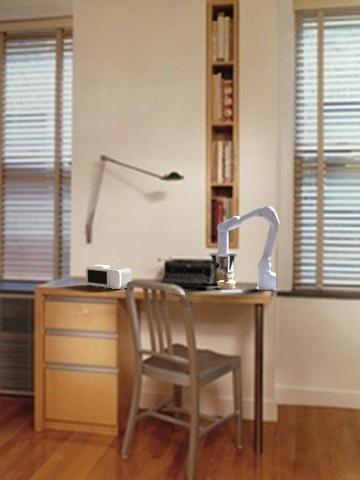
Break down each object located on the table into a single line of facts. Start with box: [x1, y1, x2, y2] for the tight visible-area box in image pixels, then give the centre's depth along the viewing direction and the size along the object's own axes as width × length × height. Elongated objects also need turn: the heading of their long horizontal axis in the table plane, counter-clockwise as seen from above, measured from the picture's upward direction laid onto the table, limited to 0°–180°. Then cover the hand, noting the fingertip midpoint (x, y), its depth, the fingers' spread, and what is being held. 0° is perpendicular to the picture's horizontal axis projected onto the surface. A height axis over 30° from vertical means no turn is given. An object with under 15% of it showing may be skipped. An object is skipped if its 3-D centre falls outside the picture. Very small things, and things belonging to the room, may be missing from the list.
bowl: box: [217, 284, 236, 290], centre depth 288 cm, size 9×9×3 cm
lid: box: [217, 274, 237, 285], centre depth 288 cm, size 10×10×5 cm
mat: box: [220, 289, 244, 294], centre depth 276 cm, size 11×11×1 cm
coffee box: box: [216, 256, 235, 285], centre depth 307 cm, size 9×6×16 cm
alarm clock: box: [85, 264, 133, 290], centre depth 294 cm, size 27×9×12 cm, turn 50°
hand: (222, 269), depth 290 cm, fingers open, 7 cm apart
